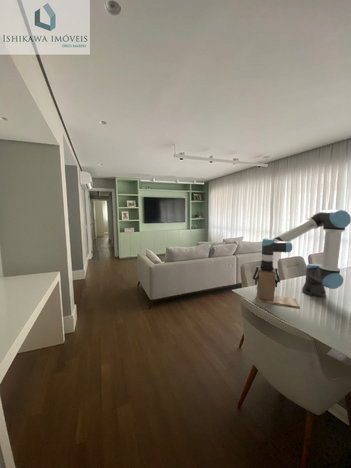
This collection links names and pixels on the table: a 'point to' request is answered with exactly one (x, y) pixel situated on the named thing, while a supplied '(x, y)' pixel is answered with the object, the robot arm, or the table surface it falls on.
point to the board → (281, 301)
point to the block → (266, 285)
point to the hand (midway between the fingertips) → (265, 289)
